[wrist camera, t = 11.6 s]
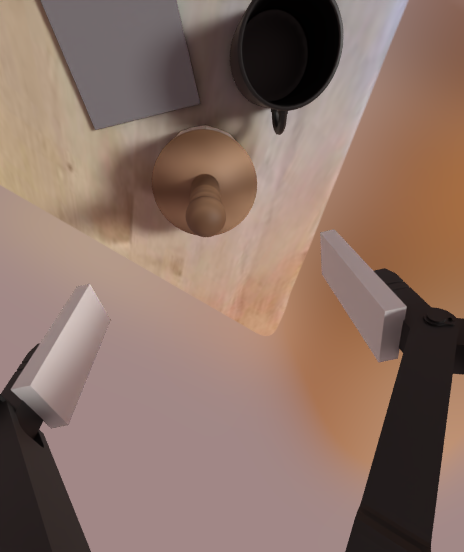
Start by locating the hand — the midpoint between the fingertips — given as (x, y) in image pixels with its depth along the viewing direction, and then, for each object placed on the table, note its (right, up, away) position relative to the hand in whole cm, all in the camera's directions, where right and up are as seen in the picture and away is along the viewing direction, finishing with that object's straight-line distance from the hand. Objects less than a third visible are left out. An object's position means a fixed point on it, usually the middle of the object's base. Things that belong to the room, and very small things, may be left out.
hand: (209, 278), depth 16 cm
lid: (-2, +11, +18) cm, 21 cm away
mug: (+6, +24, +17) cm, 30 cm away
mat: (-10, +25, +15) cm, 31 cm away
